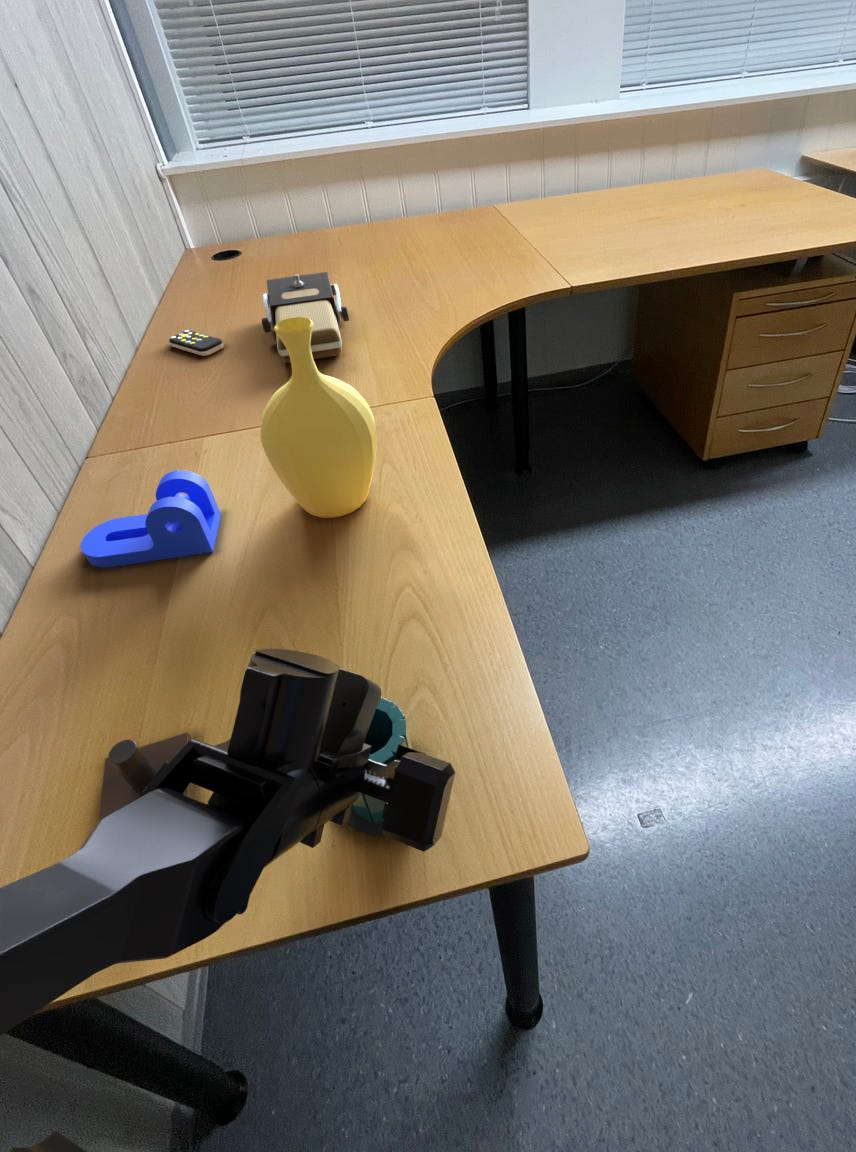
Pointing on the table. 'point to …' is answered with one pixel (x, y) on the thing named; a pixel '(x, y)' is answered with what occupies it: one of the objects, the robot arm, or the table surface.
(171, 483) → the bracket
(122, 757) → the stand
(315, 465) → the vase
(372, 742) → the slatted teal pen holder
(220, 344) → the remote control
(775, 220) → the table surface
